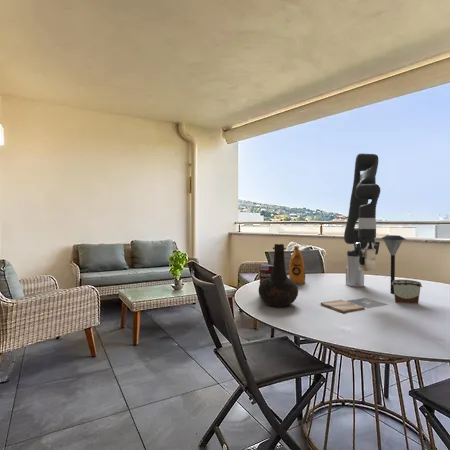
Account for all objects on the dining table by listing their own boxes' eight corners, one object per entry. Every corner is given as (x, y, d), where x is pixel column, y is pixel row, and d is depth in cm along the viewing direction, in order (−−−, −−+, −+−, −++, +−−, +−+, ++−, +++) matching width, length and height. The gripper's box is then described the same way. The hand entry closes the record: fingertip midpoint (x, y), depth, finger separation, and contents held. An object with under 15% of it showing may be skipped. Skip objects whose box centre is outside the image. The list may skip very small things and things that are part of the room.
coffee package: (287, 283, 192) (287, 247, 192) (289, 279, 204) (289, 245, 204) (304, 284, 190) (304, 247, 189) (305, 280, 202) (305, 245, 201)
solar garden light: (379, 294, 165) (380, 236, 164) (379, 289, 176) (379, 234, 175) (406, 297, 160) (407, 236, 159) (405, 291, 171) (405, 235, 170)
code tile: (345, 301, 153) (345, 300, 153) (365, 298, 158) (365, 297, 158) (367, 308, 141) (367, 308, 141) (388, 304, 147) (388, 304, 147)
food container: (418, 301, 153) (418, 280, 152) (421, 304, 147) (422, 282, 146) (389, 299, 157) (389, 278, 156) (391, 302, 151) (391, 281, 150)
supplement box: (259, 296, 163) (259, 265, 162) (260, 294, 168) (260, 264, 167) (276, 297, 161) (276, 265, 161) (277, 295, 166) (277, 264, 165)
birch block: (358, 269, 151) (358, 248, 150) (366, 268, 153) (366, 247, 152) (367, 271, 146) (367, 249, 146) (375, 270, 148) (375, 248, 148)
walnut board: (320, 304, 148) (320, 302, 148) (340, 301, 153) (340, 299, 153) (343, 313, 135) (343, 310, 135) (364, 309, 140) (364, 307, 140)
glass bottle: (252, 301, 154) (251, 243, 153) (283, 297, 161) (283, 241, 160) (271, 312, 137) (271, 246, 136) (306, 307, 144) (306, 244, 144)
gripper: (371, 226, 155) (371, 262, 156) (349, 227, 149) (348, 264, 150) (385, 227, 148) (384, 264, 149) (361, 228, 142) (361, 266, 143)
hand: (366, 264), depth 149 cm, fingers closed on birch block, 5 cm apart
